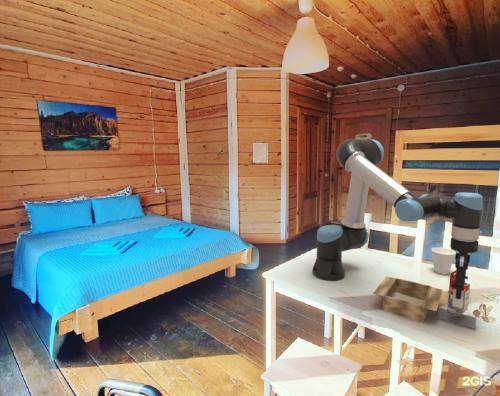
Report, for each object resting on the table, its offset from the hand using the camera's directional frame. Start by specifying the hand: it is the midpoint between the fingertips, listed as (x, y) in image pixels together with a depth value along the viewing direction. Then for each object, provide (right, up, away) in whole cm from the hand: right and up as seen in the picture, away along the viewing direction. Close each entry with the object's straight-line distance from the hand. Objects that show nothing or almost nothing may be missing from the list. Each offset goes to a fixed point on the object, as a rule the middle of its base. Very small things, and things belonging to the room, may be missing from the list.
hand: (458, 301), depth 101 cm
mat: (0, -7, +1) cm, 7 cm away
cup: (+20, 0, +40) cm, 44 cm away
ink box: (0, -4, +1) cm, 4 cm away
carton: (-12, -5, +11) cm, 17 cm away
